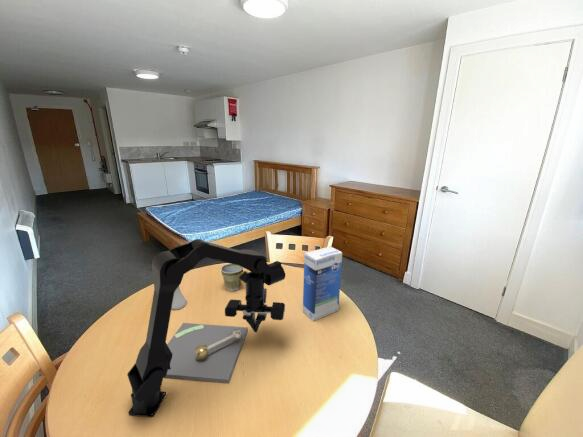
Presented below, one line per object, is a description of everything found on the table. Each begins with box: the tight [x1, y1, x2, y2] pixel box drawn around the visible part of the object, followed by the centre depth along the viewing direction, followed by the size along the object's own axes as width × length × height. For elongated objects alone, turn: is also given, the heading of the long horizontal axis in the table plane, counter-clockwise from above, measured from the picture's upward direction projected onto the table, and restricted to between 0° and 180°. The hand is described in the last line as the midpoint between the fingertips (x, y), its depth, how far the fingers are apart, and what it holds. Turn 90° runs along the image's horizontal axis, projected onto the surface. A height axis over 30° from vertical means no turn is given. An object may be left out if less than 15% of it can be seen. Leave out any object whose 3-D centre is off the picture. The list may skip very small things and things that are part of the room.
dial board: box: [163, 322, 249, 384], centre depth 85 cm, size 22×24×1 cm
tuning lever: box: [195, 329, 241, 361], centre depth 84 cm, size 15×4×3 cm, turn 130°
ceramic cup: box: [220, 263, 249, 292], centre depth 122 cm, size 13×10×10 cm
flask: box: [171, 285, 188, 311], centre depth 108 cm, size 7×7×10 cm
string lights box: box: [302, 246, 343, 322], centre depth 103 cm, size 13×8×26 cm, turn 122°
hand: (255, 331), depth 88 cm, fingers closed
